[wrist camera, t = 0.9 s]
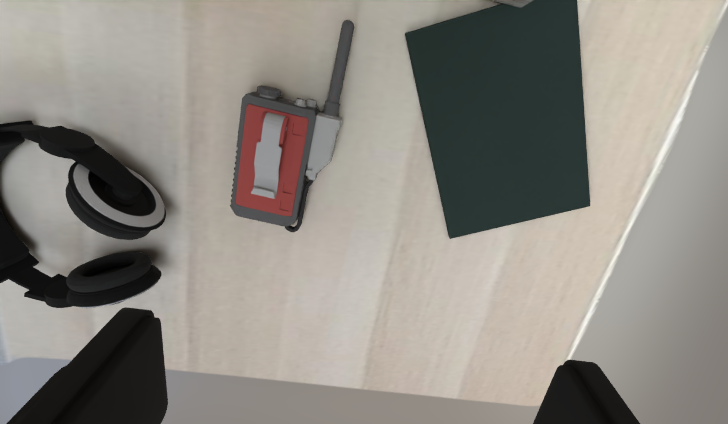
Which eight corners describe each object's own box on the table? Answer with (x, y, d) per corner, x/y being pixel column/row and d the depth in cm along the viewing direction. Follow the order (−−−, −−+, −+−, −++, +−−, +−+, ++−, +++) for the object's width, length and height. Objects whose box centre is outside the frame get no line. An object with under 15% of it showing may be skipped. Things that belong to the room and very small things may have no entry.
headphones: (124, 349, 36) (-73, 286, 37) (173, 303, 44) (8, 250, 44) (134, 174, 30) (-105, 100, 31) (189, 154, 37) (-4, 95, 38)
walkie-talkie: (318, 230, 41) (362, 24, 33) (312, 250, 36) (361, 20, 29) (235, 212, 40) (260, -2, 32) (219, 230, 36) (244, -11, 28)
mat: (405, 33, 33) (405, 33, 33) (572, -17, 32) (576, -19, 31) (448, 236, 40) (449, 238, 40) (587, 203, 39) (590, 206, 38)
